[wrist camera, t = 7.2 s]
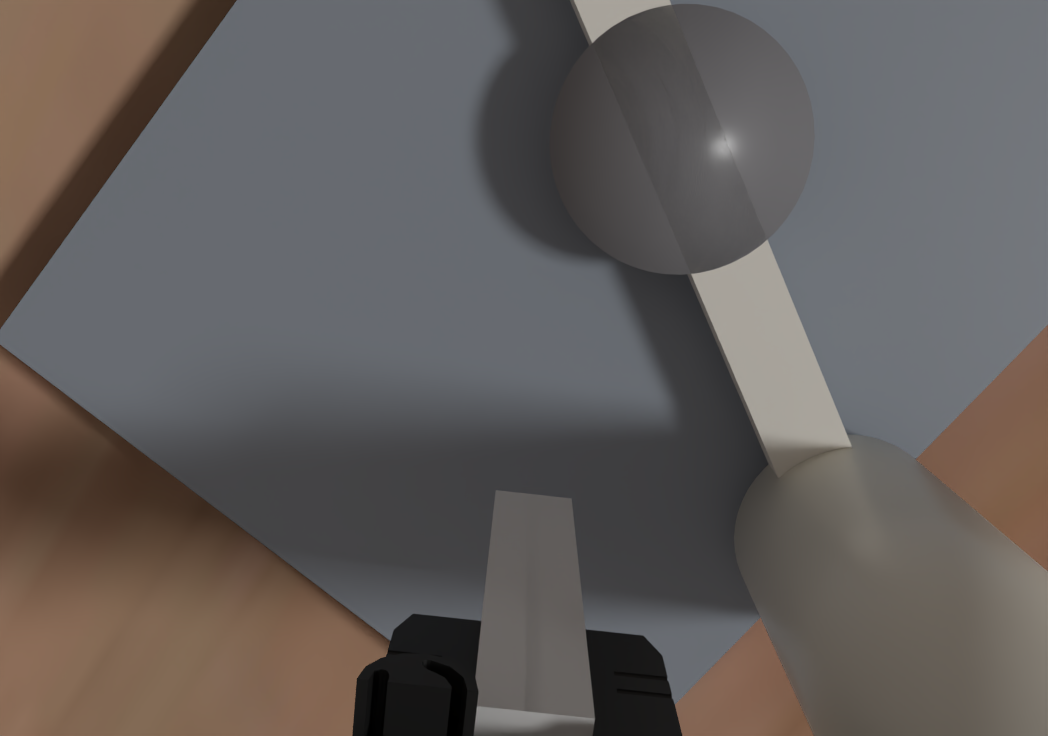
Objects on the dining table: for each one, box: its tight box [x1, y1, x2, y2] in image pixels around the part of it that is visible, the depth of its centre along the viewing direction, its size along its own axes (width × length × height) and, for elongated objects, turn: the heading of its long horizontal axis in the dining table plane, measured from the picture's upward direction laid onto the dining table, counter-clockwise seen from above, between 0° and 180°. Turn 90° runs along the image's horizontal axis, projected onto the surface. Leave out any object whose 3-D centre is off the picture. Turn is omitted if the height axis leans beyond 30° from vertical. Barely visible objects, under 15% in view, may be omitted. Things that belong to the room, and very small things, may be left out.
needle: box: [550, 0, 1048, 736], centre depth 12 cm, size 19×4×10 cm, turn 25°
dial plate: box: [0, 0, 1048, 704], centre depth 18 cm, size 22×15×1 cm
